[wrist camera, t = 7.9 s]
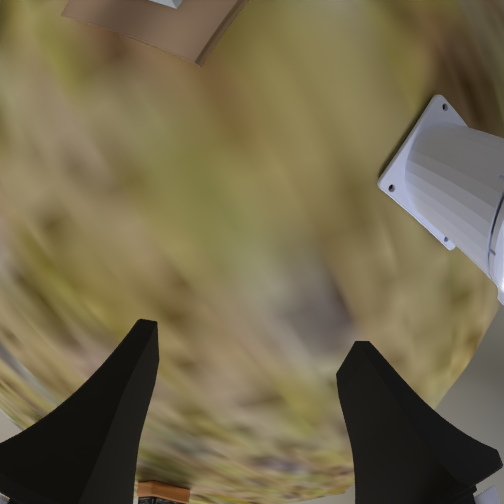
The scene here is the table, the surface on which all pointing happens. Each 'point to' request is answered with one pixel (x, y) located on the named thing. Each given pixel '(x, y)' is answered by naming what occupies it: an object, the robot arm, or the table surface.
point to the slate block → (169, 2)
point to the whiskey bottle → (161, 493)
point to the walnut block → (162, 22)
